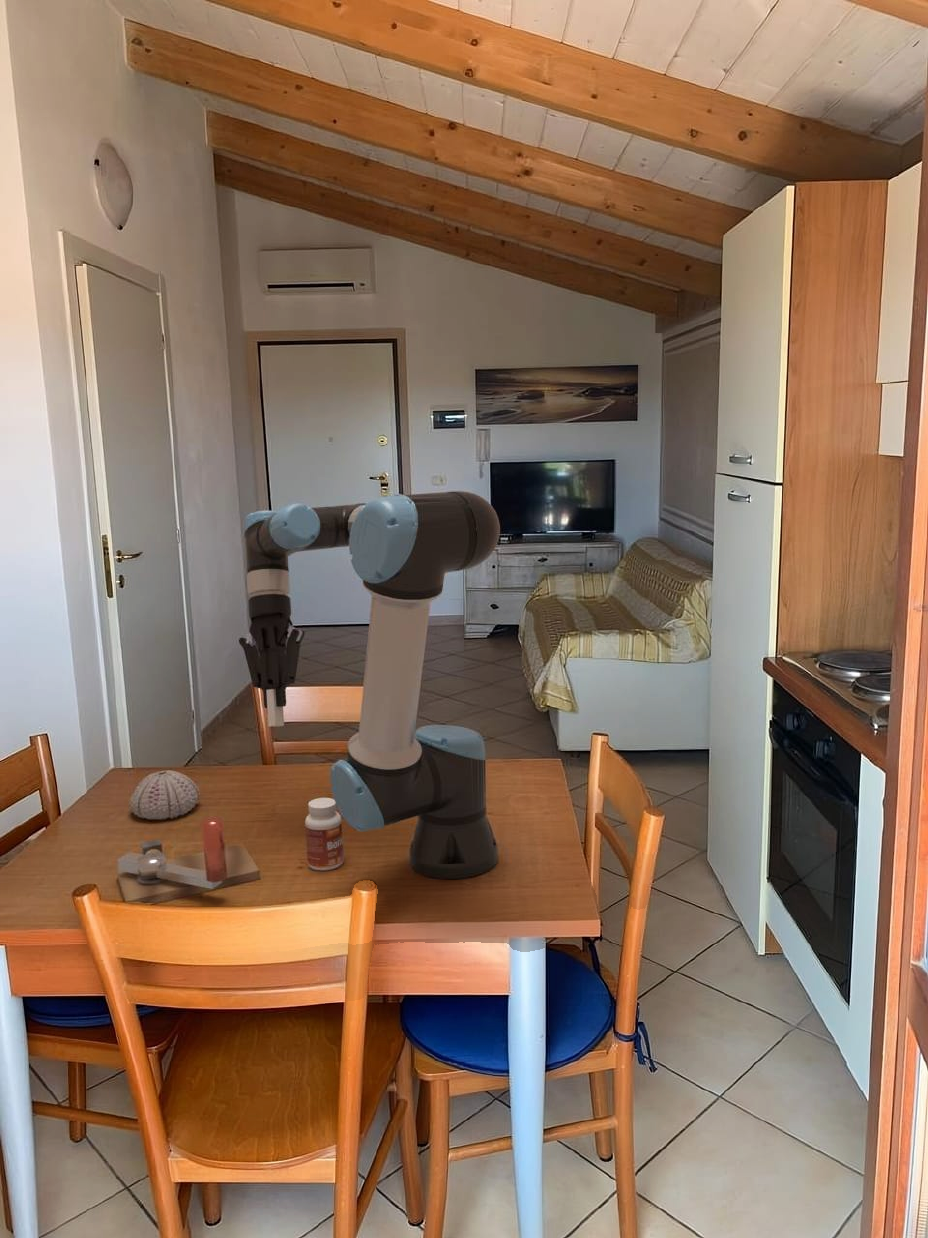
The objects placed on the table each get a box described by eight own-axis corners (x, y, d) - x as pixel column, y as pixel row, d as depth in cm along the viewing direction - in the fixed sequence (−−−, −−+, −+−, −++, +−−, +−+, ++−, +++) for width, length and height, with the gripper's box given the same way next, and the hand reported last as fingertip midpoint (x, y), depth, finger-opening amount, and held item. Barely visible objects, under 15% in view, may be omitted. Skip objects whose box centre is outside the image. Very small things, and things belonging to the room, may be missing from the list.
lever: (115, 872, 154) (108, 810, 152) (134, 861, 158) (127, 800, 156) (216, 893, 146) (211, 827, 144) (234, 881, 150) (229, 817, 147)
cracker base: (127, 910, 146) (124, 883, 146) (116, 873, 159) (113, 848, 158) (260, 878, 156) (258, 853, 155) (239, 846, 168) (237, 822, 167)
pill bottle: (332, 874, 157) (329, 811, 154) (300, 869, 159) (296, 807, 157) (350, 858, 162) (347, 798, 160) (319, 853, 164) (315, 793, 162)
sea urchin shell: (170, 828, 177) (166, 788, 176) (114, 819, 182) (110, 780, 181) (214, 803, 189) (211, 765, 188) (161, 794, 194) (158, 758, 193)
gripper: (310, 593, 172) (318, 722, 168) (252, 604, 177) (258, 729, 173) (287, 588, 165) (295, 722, 161) (227, 599, 170) (233, 729, 166)
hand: (276, 726), depth 167 cm, fingers closed
